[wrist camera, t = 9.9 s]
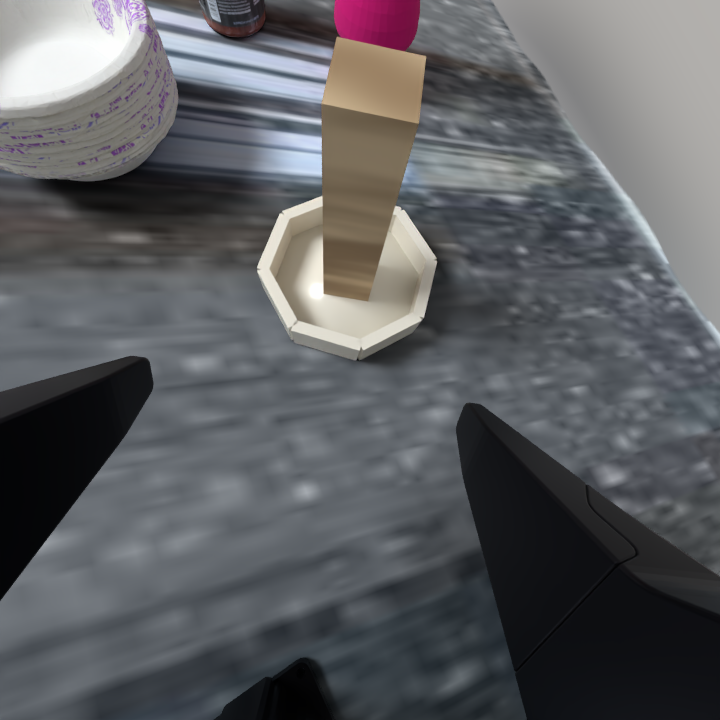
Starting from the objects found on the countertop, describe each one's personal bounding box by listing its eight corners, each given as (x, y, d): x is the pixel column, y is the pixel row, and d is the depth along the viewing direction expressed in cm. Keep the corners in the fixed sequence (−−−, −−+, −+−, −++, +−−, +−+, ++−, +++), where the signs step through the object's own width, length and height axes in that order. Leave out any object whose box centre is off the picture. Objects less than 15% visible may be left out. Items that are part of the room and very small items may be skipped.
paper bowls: (230, 115, 29) (195, -4, 21) (117, 244, 24) (24, 151, 17) (81, 43, 29) (-4, -99, 22) (-55, 157, 25) (-221, 28, 17)
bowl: (450, 312, 26) (463, 298, 23) (315, 383, 23) (313, 375, 21) (375, 197, 28) (379, 174, 26) (243, 250, 25) (234, 229, 23)
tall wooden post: (367, 301, 25) (418, 123, 11) (323, 293, 25) (321, 103, 11) (373, 262, 26) (426, 56, 12) (330, 255, 25) (336, 36, 12)
